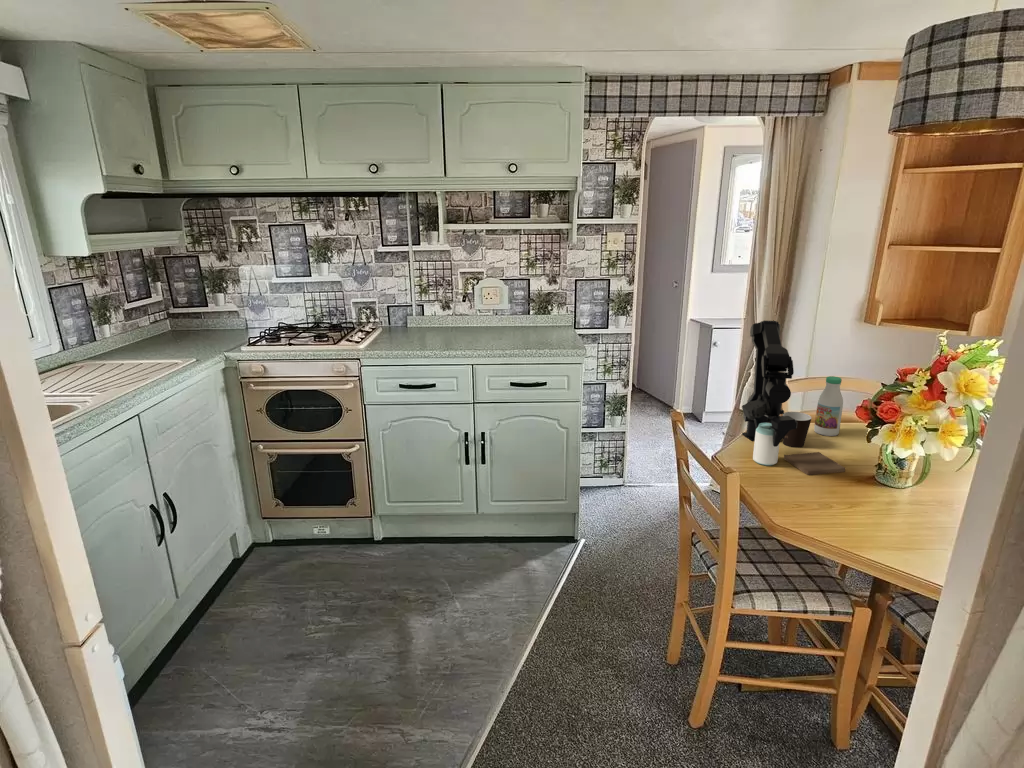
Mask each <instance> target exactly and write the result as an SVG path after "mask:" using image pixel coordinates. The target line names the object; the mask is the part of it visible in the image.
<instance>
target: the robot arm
mask: <svg viewBox="0 0 1024 768" xmlns="http://www.w3.org/2000/svg"><path fill="white" fill-rule="evenodd" d="M749 332H750V333H749V335H750V337H751V342H752V344H753V346H754V348H755V360H754V363H755V364H754V376H753V377H754V378H753V379H754V380H753V392H752V393H751V394H750V396H749V398H748V400H747V403H745V404H743V405H742V406H741V408H742V411H743V412H742V413H743V417H742V418H743V420H744V422H747V424H746V432H742V434H741V435H742V436H744V437H745V438H747V439H748V440H749V441H752V442H753V441H754V442H755V433H756V428H757V427H758V426H759V424H760V423H771V425H772V426H770V428H771V429H772V430H773V446H774V447H776V446H778V445H779V446H780V444H781V442H783V438H784V437H785V435H786V434H787V433H788V432H789V431H790V430H793V429H796V428H797V423H798V422H797V421H796V420H795V419H793V418H791V417H790V416H783V414H784V413H785V410H783V409H782V404H783V403H787V401H789V399H790V398H791V396H792V392H791V391H792V390H791V389H790V387H789V386H788V384H787V381H786V380H787V379H793V375H794V372H795V371H794V362H793V359H792V356H790V353H789V350H788V349H787V348H785V347H783V346H782V342H781V341H782V340H781V336H780V335H781V324H780V323H779V321H777V320H762V321H759V322H755V323H753V324H752V325H751V326H750V330H749ZM779 443H780V444H779Z"/></svg>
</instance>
